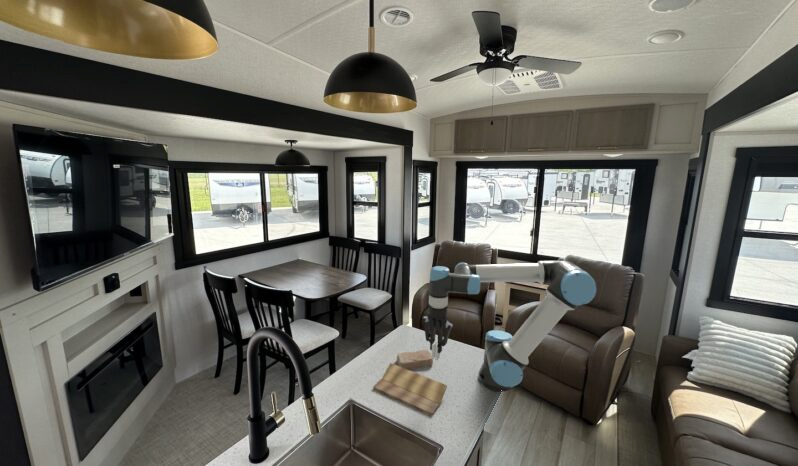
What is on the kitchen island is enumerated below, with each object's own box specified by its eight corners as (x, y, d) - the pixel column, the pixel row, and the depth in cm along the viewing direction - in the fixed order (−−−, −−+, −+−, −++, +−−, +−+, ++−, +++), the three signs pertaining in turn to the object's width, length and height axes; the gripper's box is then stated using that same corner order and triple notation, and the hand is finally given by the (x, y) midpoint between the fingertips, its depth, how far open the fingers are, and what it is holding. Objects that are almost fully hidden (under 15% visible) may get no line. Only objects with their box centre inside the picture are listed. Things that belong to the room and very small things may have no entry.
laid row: (438, 406, 124) (438, 403, 124) (432, 416, 119) (432, 413, 118) (381, 381, 138) (381, 378, 138) (373, 389, 133) (373, 386, 133)
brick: (399, 371, 146) (400, 362, 145) (396, 360, 154) (396, 352, 153) (433, 367, 150) (433, 358, 149) (427, 357, 158) (428, 348, 157)
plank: (447, 386, 130) (446, 385, 129) (439, 405, 125) (439, 403, 124) (391, 364, 144) (390, 362, 143) (382, 380, 139) (381, 378, 138)
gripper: (458, 305, 123) (454, 359, 128) (426, 297, 131) (424, 348, 135) (450, 312, 117) (447, 368, 122) (418, 304, 124) (416, 357, 129)
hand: (435, 358), depth 128 cm, fingers closed
